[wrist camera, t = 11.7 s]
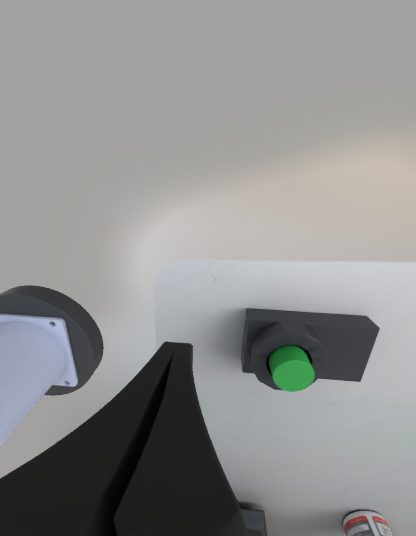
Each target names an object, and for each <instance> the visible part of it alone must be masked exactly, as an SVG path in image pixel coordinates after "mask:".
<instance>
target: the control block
mask: <svg viewBox="0 0 416 536" xmlns="http://www.w3.org/2000/svg"><path fill="white" fill-rule="evenodd" d="M378 332H379V327H378V326H377V325H376V324H375V323H374V322H372V321H371V320H370V319H369V318H368V317H367V316H355V315H340V314H325V313H310V312H295V311H280V310H264V309H249V308H247V311H246V320H245V329H244V338H243V347H242V356H241V361H242V372H244V373H255V375H256V377H257V378H258V380H259V381H260V382H262V383H264V384H266V385H267V386H269V387H271V388H273V389H275V390H282V389H280V388H279V387H278V386H277V385H276V384H275V383H274V381H273V377H272V373H271V369H270V365H269V357H270V355H271V353H272V352H273V351H274V350H275V349H277V348H279V347H282V346H286V345H292V346H297V347H299V348H301V349H302V350H303V351H304V352H305V353H306V355H307V357H308V359H309V361H310V363H311V365H312V368H313V370H314V373H315V376H314V380H313V382H312V383H314V382H315V381H316V380H317V379H318V378H319V379H332V380H344V381H357V382H360V381H361V379H362V376H363V373H364V370H365V368H366V365H367V362H368V359H369V357H370V354H371V351H372V348H373V346H374V343H375V340H376V337H377V335H378ZM312 383H311V384H312ZM311 384H310V385H311ZM310 385H309V386H310Z"/></svg>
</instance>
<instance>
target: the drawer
mask: <svg viewBox="0 0 416 536" xmlns="http://www.w3.org/2000/svg"><path fill="white" fill-rule="evenodd" d="M241 513H242V516H243V520H244V523H245V526H246V530H247V533H248V536H265V531H264V522H263V513H262V511H253V510H244V509H241Z"/></svg>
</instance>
